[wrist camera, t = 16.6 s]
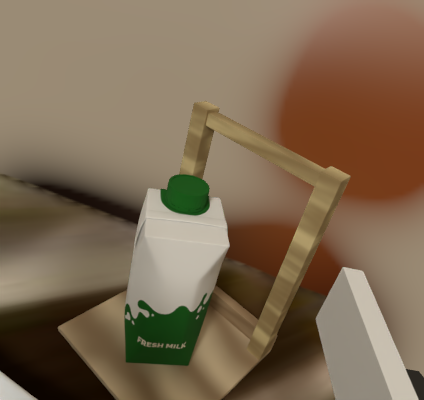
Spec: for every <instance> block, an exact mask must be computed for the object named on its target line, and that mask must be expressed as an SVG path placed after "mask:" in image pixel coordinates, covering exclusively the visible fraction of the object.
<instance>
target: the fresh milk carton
mask: <svg viewBox="0 0 424 400" xmlns="http://www.w3.org/2000/svg"><path fill="white" fill-rule="evenodd" d="M208 194H209V186H208V184H207V183H206V182H205V181H204V180H202V179H200V178H198V177H196V176H193V175H187V174H179V175H175V176H173V177H171V178H170V179H169V183H168V188H167V190H165V189H161V190H158V189H152V188H148V191H147V195H146V198H145V201H144V204H143V207H142V210H141V214H140V218H139V222H138V226H137V231H136V236H135V242H134V250H133V256H132V262H131V269H130V275H129V282H128V288H127V294H126V301H125V316H124V323H125V355H126V363H144V364H163V365H182V366H188V365H189V362H190V359H191V356H192V353H193V351H194V348H195V345H196V342H197V339H198V336H199V334H200V331H201V328H202V325H203V322H204V319H205V316H206V313H207V309H208V306H209V303H210V300H211V297H212V294H213V290H214V287H215V284H216V281H217V278H218V275H219V271H220V268H221V265H222V262H223V260H224V257H225V255H226V253H227V250H228V248H229V246H230V245H229V240H228V235H227V224H226V221H225V216H224V212H223V208H222V204H221V199H220V198H216V197H209V196H208Z"/></svg>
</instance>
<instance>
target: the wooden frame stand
mask: <svg viewBox="0 0 424 400" xmlns="http://www.w3.org/2000/svg"><path fill="white" fill-rule="evenodd" d="M218 112H219V108H218V107H216V106H215V105H213V104H211V103H209V102H207V101H204V102H197V103H194V106H193V111H192V116H191V120H190V125H189V130H188V135H187V140H186V145H185V149H184V155H183V159H182V164H181V169H180V174H187V175H193V176H196V177H198V178H200V179H202V178H203V174H204V170H205V166H206V162H207V158H208V153H209V149H210V145H211V141H212V137H213V133H214V130H215V131H217V132H218V133H220V134H222V135H224V136H225V137H227V138H229V139H231V140H233V141H234V142H236V143H238V144H240V145H242V146H243V147H245V148H247V149H249V150H250V151H252V152H254V153H256V154H258V155H259V156H261V157H263V158H265V159H267V160H268V161H270V162H272V163H274V164H275V165H277V166H279V167H281V168H283V169H284V170H286V171H288V172H290V173H291V174H293V175H295V176H297V177H299V178H300V179H302V180H304V181H306V182H307V183H310V184H311V185H313V186H315V188H314V190H313V192H312V195H311V197H310V199H309V202H308V204H307V207H306V209H305V211H304V214H303V216H302V218H301V221H300V223H299V226H298V228H297V230H296V233H295V235H294V237H293V240H292V243H291V245H290V247H289V249H288V252H287V254H286V256H285V259H284V261H283V264H282V266H281V268H280V271H279V273H278V275H277V278H276V280H275V283H274V285H273V287H272V290H271V292H270V294H269V297H268V299H267V302H266V304H265V306H264V309H263V311H262V313H261V316H260V318H259V320H258V319H257V318H255V317H254V316H253V315H252V314H250V313H249V312H248V311H247V310H246V309H244V308H243V307H242V306H241V305H239V304H238V303H237V302H236V301H234V300H233V299H232V298H231V297H230V296H228V295H227V294H226V293H225V292H223V291H222V290H221V289H220V288H219V287H217V286H216V285H215V287H214V290H213V294H212V297H211V300H210V303H209V306H208V309H207V313H206V316H205V319H204V322H203V325H202V328H201V331H200V334H199V336H198V339H197V342H196V345H195V348H194V351H193V353H192V356H191V359H190V362H189V365H188V366H182V365H163V364H144V363H126V355H125V323H124V316H125V301H126V294H127V290H126V291H124V292H122V293H120V294H118V295H116V296H114V297H113V298H111V299H109V300H107V301H105V302H103V303H101V304H100V305H98V306H96V307H94V308H92V309H90V310H88V311H87V312H85V313H83V314H81V315H79V316H77V317H75V318H73V319H72V320H70V321H68V322H66V323H64V324H62V325H60V326H59V327H58V331H59V332H60V333H61V334H62V336H63V337H64V338H65V339H66V340H67V342H68V343H69V344H70V345H71V346H72V348H73V349H74V350H75V351H76V352H77V354H78V355H79V356H80V357H81V358H82V360H83V361H84V362H85V363H86V364H87V366H88V367H89V368H90V369H91V370H92V372H93V373H94V374H95V375H96V376H97V378H98V379H99V380H100V381H101V382H102V384H103V385H104V386H105V387H106V388H107V390H108V391H109V392H110V393H111V394H112V396H113V397H114V398H115V399H116V400H222V399H223V398H224V397H225V396H226V395H227V394H228V393H229V392H230V391H231V390H232V389H233V388H234V387H235V386H236V385H237V384H238V383H239V382H240V381H241V380H242V379H243V378H244V377H245V376H246V375H247V374H248V373H249V372H250V371H251V370H252V369H253V368H254V367H255V366H256V365H257V364H258V363H259V362H260V361H261V360H262V359H263V358H264V357H265V356H266V355H267V354H268V353H269V352H270V351H271V349H272V347H273V344H274V342H275V340H276V338H277V332H278V330H279V328H280V326H281V324H282V322H283V320H284V317H285V315H286V313H287V311H288V309H289V307H290V305H291V303H292V300H293V298H294V296H295V294H296V292H297V290H298V288H299V286H300V283H301V281H302V279H303V277H304V275H305V273H306V271H307V268H308V266H309V264H310V262H311V260H312V258H313V255H314V254H315V251H316V249H317V247H318V245H319V243H320V241H321V239H322V236H323V234H324V232H325V230H326V228H327V226H328V224H329V222H330V219H331V217H332V215H333V213H334V211H335V209H336V206H337V205H338V202H339V200H340V198H341V196H342V193H343V192H344V190H345V187H346V185H347V183H348V181H349V179H350V176H349V175H347V174H345V173H343V172H342V171H340V170H338V169H336V168H334V167H332V166H331V167H329V168H327V169H324V168H322V167H320V166H318V165H317V164H315V163H313V162H311V161H309V160H307V159H305V158H303V157H301V156H299V155H298V154H296V153H294V152H292V151H290V150H288V149H286V148H284V147H283V146H281V145H279V144H277V143H275V142H273V141H271V140H269V139H267V138H265V137H264V136H262V135H260V134H258V133H256V132H254V131H252V130H250V129H248V128H247V127H245V126H243V125H241V124H239V123H237V122H235V121H233V120H231V119H230V118H228V117H226V116H224V115H222V114H220V113H218Z"/></svg>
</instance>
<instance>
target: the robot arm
mask: <svg viewBox="0 0 424 400" xmlns="http://www.w3.org/2000/svg"><path fill="white" fill-rule="evenodd" d="M316 322H317V326H318V330H319V334H320V338H321V342H322V347H323V351H324V355H325V359H326V363H327V367H328V371H329V375H330V379H331V383H332V387H333V391H334V395H335V399H336V400H424V377H423V376H422V375H421V374H420V372H419V371H414V370H408V369H405V367H404V365H403V362H402V360H401V358H400V355H399V353H398V351H397V348H396V346H395V344H394V342H393V339H392V337H391V335H390V332H389V330H388V328H387V325H386V323H385V321H384V318H383V316H382V314H381V312H380V309H379V307H378V305H377V303H376V300H375V298H374V295H373V293H372V291H371V288H370V286H369V284H368V282H367V279H366V277H365V275H364V272H363V271H360V270H355V269H350V268H345V267H343V268H342V270H341V272H340V274H339V276H338V277H337V279H336V281H335V283H334V285H333V287H332V289H331V291H330V292H329V294H328V296H327V298H326V300H325V302H324V304H323V306H322V308H321V309H320V311H319V313H318V315H317V317H316Z"/></svg>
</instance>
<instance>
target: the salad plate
mask: <svg viewBox="0 0 424 400" xmlns="http://www.w3.org/2000/svg"><path fill="white" fill-rule="evenodd" d="M0 400H38V399H36V398H35V397H34V396H32V395H31V394H29V393H28V392H27V391H25V390H24V389H23V388H22V387H20V386H19V385H18V384H16V383H15V382H14V381H13V380H11V379H10V378H9V377H7V376H6V375H5V374H4V373H2V372H1V371H0Z"/></svg>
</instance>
